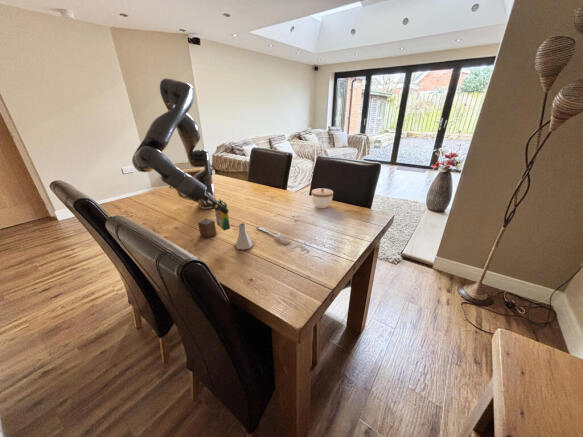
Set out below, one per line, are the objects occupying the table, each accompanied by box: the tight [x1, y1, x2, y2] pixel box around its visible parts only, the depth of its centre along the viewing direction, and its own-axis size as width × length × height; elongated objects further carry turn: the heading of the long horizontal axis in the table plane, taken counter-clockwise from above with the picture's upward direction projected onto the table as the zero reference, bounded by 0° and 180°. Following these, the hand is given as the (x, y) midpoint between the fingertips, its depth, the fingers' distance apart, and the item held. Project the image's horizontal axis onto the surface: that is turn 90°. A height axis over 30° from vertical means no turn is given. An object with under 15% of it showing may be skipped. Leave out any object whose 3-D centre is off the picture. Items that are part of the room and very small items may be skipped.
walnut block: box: [197, 218, 217, 239], centre depth 108 cm, size 5×5×7 cm
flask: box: [235, 222, 254, 251], centre depth 98 cm, size 7×7×10 cm
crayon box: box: [214, 198, 231, 231], centre depth 99 cm, size 7×3×12 cm, turn 39°
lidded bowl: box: [311, 187, 334, 209], centre depth 138 cm, size 13×13×11 cm
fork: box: [257, 226, 290, 245], centre depth 108 cm, size 3×21×3 cm, turn 43°
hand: (224, 209), depth 99 cm, fingers closed on crayon box, 7 cm apart
